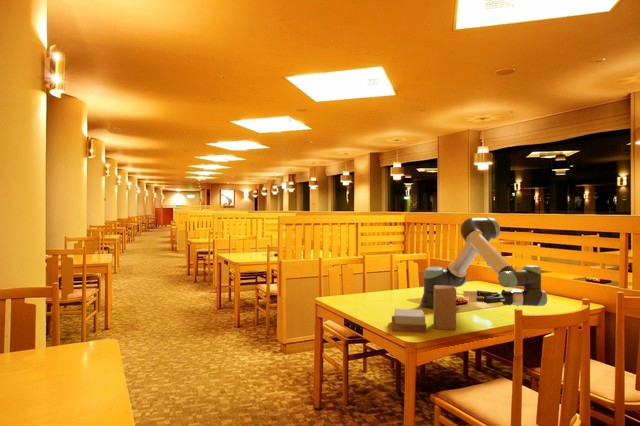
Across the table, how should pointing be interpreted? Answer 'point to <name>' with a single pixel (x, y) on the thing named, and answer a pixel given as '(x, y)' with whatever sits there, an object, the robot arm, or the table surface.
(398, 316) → the grey slab
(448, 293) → the wooden block
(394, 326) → the walnut slab
